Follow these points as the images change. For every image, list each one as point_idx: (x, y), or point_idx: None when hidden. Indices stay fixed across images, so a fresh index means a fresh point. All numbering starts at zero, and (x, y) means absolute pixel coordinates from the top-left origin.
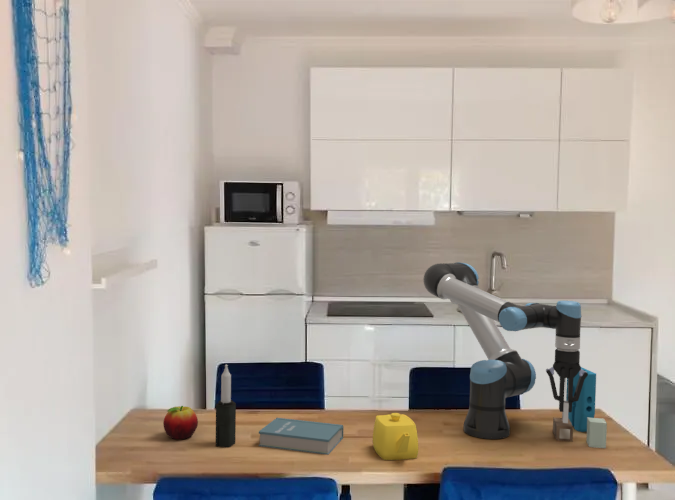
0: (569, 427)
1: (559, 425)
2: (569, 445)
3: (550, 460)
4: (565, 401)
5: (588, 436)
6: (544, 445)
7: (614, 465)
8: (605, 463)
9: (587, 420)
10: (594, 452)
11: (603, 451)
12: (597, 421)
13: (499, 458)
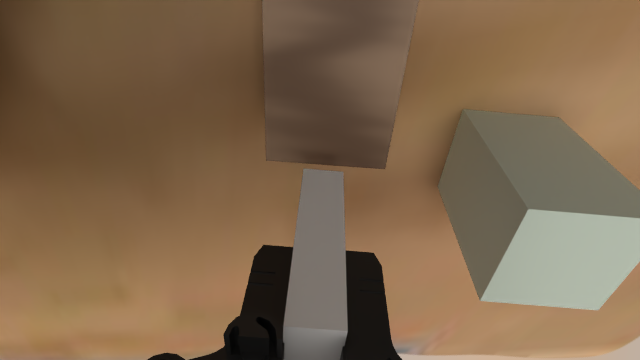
0: (358, 162)
1: (286, 154)
2: None
3: (228, 322)
4: (313, 349)
5: (458, 193)
6: (208, 196)
7: (444, 335)
8: (420, 326)
9: (512, 206)
10: (429, 246)
11: None
12: (550, 286)
13: (58, 324)
